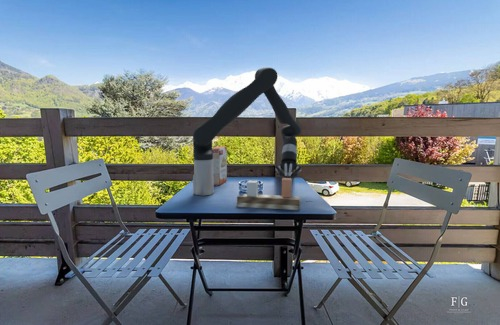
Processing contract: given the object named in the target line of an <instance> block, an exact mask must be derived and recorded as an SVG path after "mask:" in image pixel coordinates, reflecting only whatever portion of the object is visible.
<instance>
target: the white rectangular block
mask: <svg viewBox="0 0 500 325" xmlns="http://www.w3.org/2000/svg"><path fill="white" fill-rule="evenodd" d="M246 194H247V196H250V197H258V195H259V180H250V179H249V180H247V182H246Z"/></svg>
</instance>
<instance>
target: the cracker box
mask: <svg viewBox="0 0 500 325" xmlns="http://www.w3.org/2000/svg"><path fill="white" fill-rule="evenodd" d="M227 151H228V148H227V146H214V147H212V152H213V181H214V186H221V185H222V184H224V183H225V182H227V181H228V178H227V176H228V175H227V174H228V169H227V168H228V167H227V165H228V164H227V162H228V161H227V160H228V159H227V156H228V155H227V154H228V153H227Z"/></svg>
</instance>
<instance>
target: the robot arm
mask: <svg viewBox="0 0 500 325" xmlns="http://www.w3.org/2000/svg"><path fill="white" fill-rule="evenodd" d="M277 81H278V72H277V70H276V69H275V68H273V67H267V66H266V67H261V68H258V69H257V70H256V71H255V74H254V80H253V81H251V83H249V84H248V85H247V86H244V88H242V89H240V90H239V91H236V92H234V94H232V95H231V96H230V97H229V98H228V99H227V100H226V101H225V102H224V103H223V104H222V105H221V106H220V107H219V109H218V110H217V111H215V113H214V115H213V116H212V117H211V118H209V119H208V120H207V121H205V122H204V123H203V124H201V125H200V126H198V127H196V128H195V129H194V130H193V132H192V141H193V143H192V145H193V149H192V150H193V165H194V166H193V167H194V171H193V172H194V173H193V175H192V193H193V195H195V196H210V195H213V194H214V193H215V188H214V186H215V185H214V181H213V152H212V148H213V140H214V139H215V138H216V136H217V135H219V134H220V133H221V131H222V130H223V129H224V128H226V126H229V125H230V124H231V123H232V122H233V121H235V120H236V119H237V118H238V117H239V116H240V115H241V114H242V113H244V112H245V110H247V109H248V108H249V107H250V106H251V105H252V104H253V103H254V102H255V101H256V100H257V99H258V98H259V97H260V96H261V95H262V94H264V96H265V97H266V99H267V100H268V102H269V104H270V106H271V109H272V110H273V112H274V115H275V116H276V118H277V120H278V121H277V122H279V123H280V125H281V124H283V125H284V124H285V125H284V126H283V127H281V129H280V133H281V136H282V137H281V138H282V143H283V144H282V150H281V159H280V160H281V162H280V163H279V165H275V171H276V172H277V174H278V175H279V176H280V177H281V179H282V178H292V179H295V178H296V177H298V175H299V174H300V173H301V172H302V166H298V163H297V162H298V161H297V158H298V148H297V147H298V140H297V138H296V137H297V136H298V137H299V136H300V135H301V134H302V128H301V126H300V124H299V123H298V122H297V121H296V120H295V118H294V117H293V116H292V114H291V112H290V110H289V107H288V106H287V104H286V102H285V101H284V99H283V98H282V97H281V96H280V95H279V94H278V91H277V90H276V88H275V84H276V83H277Z"/></svg>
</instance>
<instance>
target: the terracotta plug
mask: <svg viewBox="0 0 500 325" xmlns="http://www.w3.org/2000/svg"><path fill="white" fill-rule="evenodd" d="M292 180H293V178H284V177H283V178H282V177H281V196H282V197H286V198H291V196H292Z"/></svg>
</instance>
